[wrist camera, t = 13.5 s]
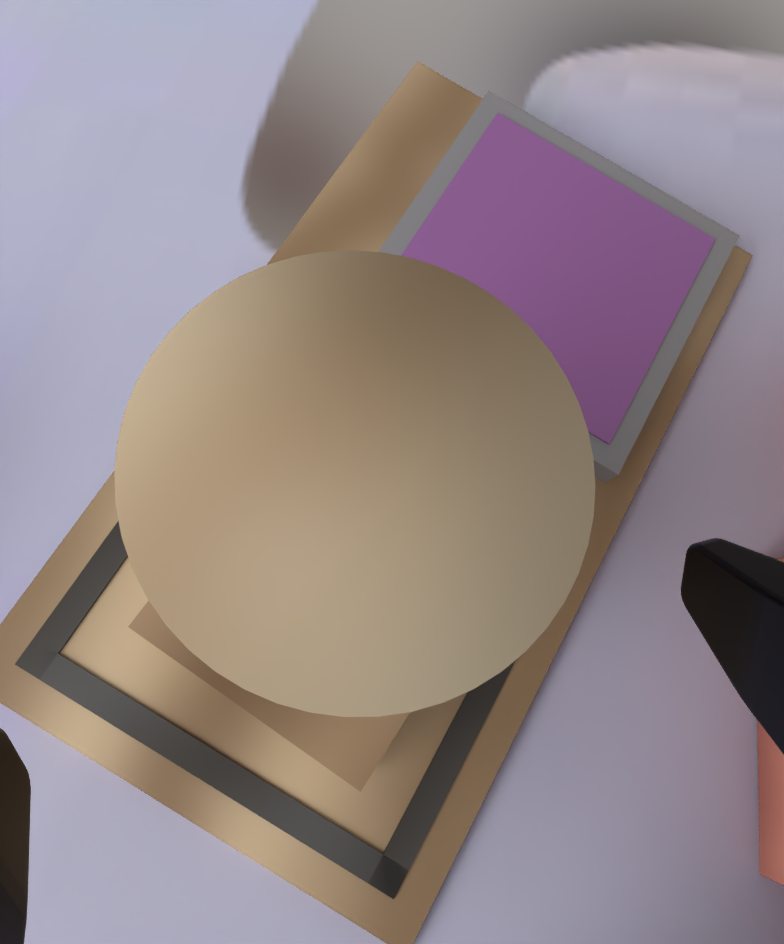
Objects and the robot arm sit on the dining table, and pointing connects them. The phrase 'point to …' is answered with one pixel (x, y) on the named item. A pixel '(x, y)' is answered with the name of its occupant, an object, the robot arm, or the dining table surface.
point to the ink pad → (571, 260)
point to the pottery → (771, 806)
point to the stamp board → (237, 731)
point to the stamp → (351, 495)
